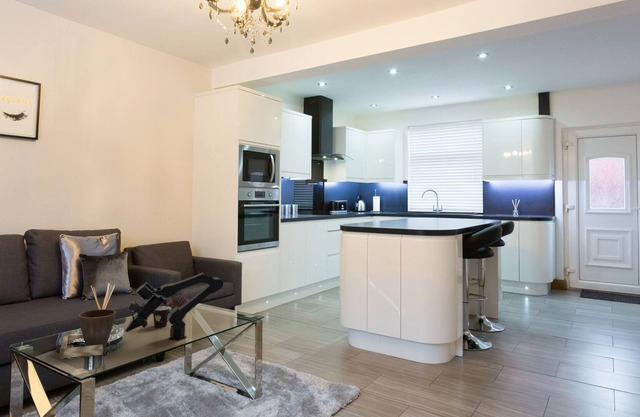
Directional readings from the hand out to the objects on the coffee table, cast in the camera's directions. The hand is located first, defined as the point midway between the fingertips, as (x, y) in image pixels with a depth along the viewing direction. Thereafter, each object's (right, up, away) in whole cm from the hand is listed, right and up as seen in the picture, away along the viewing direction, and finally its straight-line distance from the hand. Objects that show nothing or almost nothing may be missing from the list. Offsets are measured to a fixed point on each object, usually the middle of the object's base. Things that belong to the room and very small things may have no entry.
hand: (125, 331), depth 193 cm
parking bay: (-16, -5, -8) cm, 19 cm away
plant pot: (-11, -6, -6) cm, 14 cm away
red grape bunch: (+2, -7, +67) cm, 67 cm away
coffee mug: (+6, -7, +30) cm, 31 cm away
